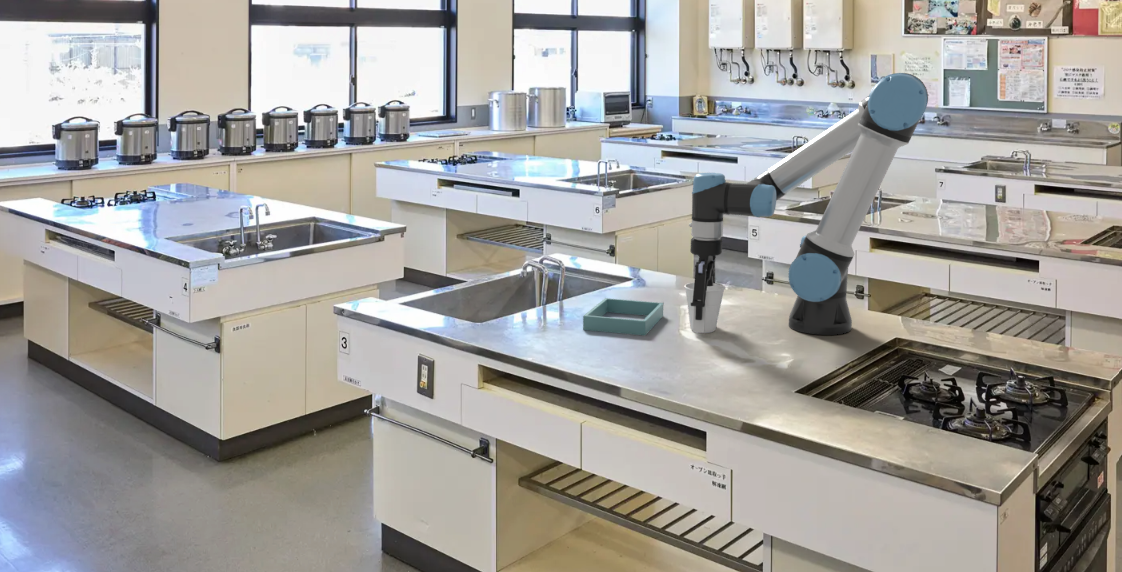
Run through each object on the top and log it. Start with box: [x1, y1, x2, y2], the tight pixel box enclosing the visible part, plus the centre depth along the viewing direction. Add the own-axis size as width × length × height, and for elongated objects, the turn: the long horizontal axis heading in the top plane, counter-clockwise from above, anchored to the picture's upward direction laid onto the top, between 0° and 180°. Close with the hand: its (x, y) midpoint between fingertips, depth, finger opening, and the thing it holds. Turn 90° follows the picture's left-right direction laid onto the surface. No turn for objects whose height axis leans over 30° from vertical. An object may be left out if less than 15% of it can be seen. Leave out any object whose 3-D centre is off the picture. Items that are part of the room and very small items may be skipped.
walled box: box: [582, 297, 665, 336], centre depth 250 cm, size 16×20×4 cm
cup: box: [684, 281, 726, 334], centre depth 243 cm, size 10×10×11 cm
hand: (703, 326), depth 244 cm, fingers open, 10 cm apart
